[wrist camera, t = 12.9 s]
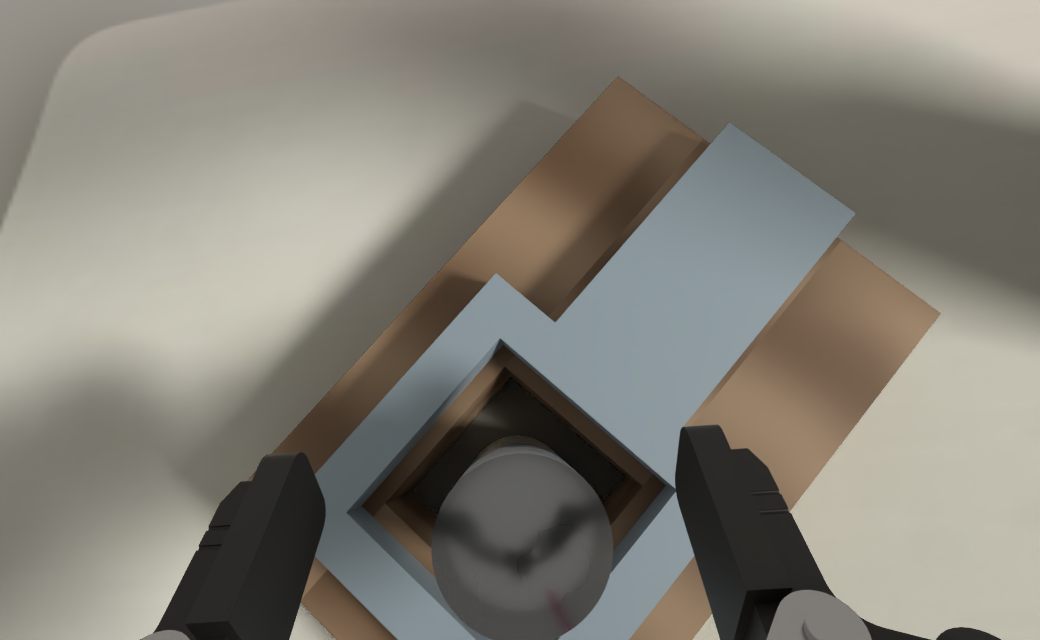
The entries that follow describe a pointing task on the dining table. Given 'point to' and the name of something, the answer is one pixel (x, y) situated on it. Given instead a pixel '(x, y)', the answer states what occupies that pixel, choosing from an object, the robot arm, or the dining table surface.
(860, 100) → the dining table surface
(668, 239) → the link
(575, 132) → the wooden block
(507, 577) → the pin
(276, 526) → the robot arm
